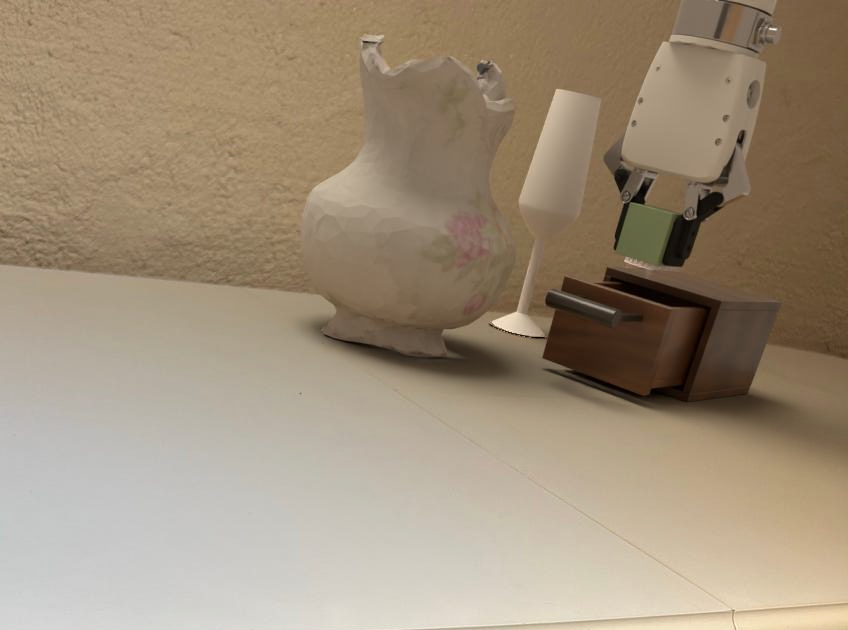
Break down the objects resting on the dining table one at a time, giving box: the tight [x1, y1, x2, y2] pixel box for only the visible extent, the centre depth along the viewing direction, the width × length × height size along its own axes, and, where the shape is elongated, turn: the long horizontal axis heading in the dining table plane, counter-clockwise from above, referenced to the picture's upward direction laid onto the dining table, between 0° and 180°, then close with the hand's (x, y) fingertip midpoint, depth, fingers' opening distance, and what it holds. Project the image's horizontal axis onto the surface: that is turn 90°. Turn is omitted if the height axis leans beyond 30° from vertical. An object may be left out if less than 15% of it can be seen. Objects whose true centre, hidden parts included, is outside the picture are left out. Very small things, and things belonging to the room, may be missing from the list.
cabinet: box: [602, 266, 783, 403], centre depth 107 cm, size 15×13×10 cm
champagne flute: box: [491, 88, 602, 336], centre depth 112 cm, size 7×7×24 cm
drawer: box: [541, 275, 711, 397], centre depth 99 cm, size 19×11×8 cm, turn 137°
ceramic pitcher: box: [299, 34, 517, 358], centre depth 94 cm, size 22×20×25 cm
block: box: [614, 202, 683, 267], centre depth 95 cm, size 4×4×4 cm
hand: (648, 256), depth 96 cm, fingers closed on block, 4 cm apart
